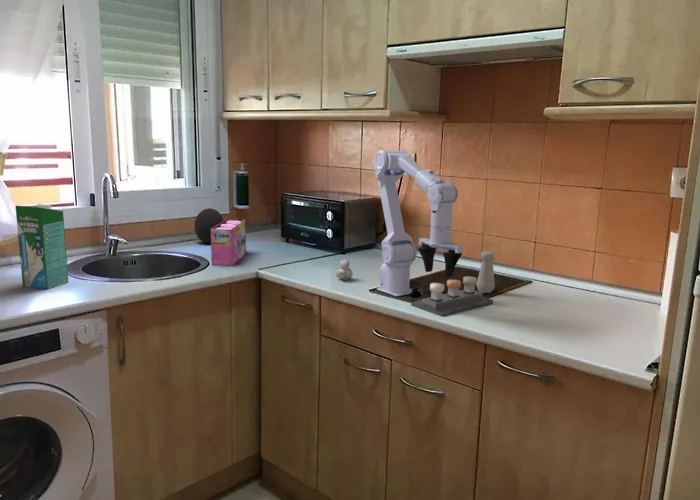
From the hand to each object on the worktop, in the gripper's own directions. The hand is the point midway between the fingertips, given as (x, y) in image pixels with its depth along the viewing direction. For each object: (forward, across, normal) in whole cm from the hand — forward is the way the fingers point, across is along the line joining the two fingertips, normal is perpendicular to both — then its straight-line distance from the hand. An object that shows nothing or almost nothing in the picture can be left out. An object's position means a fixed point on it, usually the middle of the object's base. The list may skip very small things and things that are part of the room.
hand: (438, 274), depth 165 cm
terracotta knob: (+7, 0, +7) cm, 10 cm away
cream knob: (+7, 0, 0) cm, 7 cm away
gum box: (+9, -88, -19) cm, 91 cm away
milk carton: (+9, -87, -83) cm, 121 cm away
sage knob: (+7, 0, +14) cm, 16 cm away
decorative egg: (+8, -119, -12) cm, 120 cm away
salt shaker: (+10, -3, +26) cm, 28 cm away
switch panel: (+10, 0, +7) cm, 12 cm away
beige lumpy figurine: (+10, -40, -2) cm, 41 cm away
